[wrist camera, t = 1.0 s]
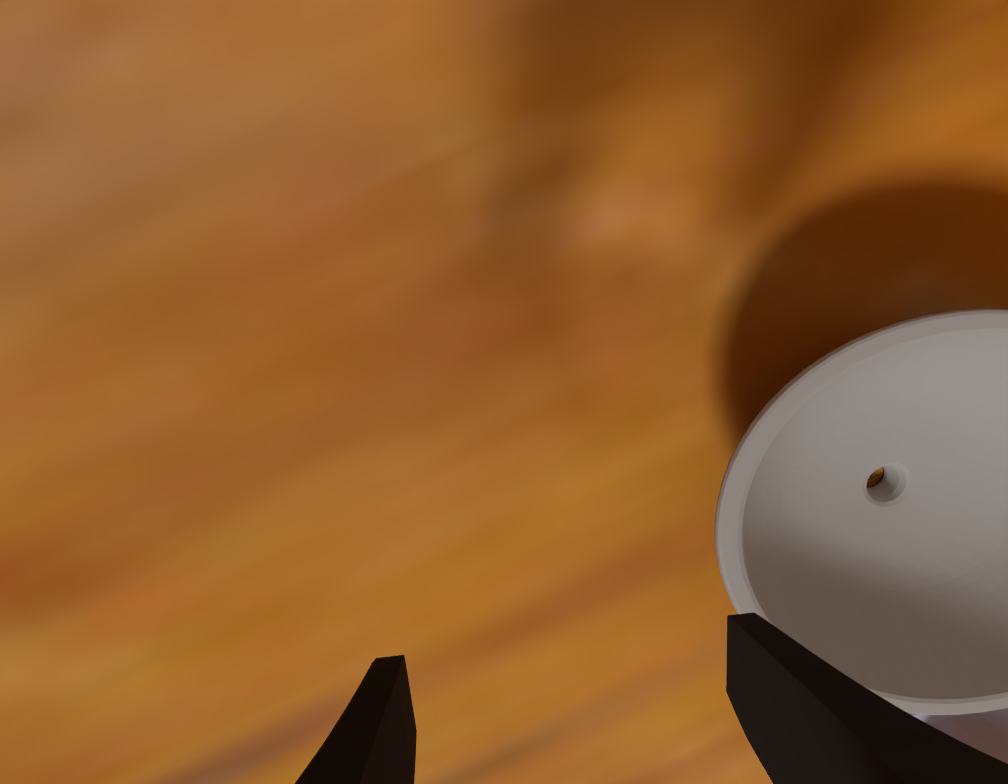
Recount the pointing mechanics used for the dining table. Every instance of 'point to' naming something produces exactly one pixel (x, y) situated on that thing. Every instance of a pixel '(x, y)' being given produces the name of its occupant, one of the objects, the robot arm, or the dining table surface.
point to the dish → (884, 512)
